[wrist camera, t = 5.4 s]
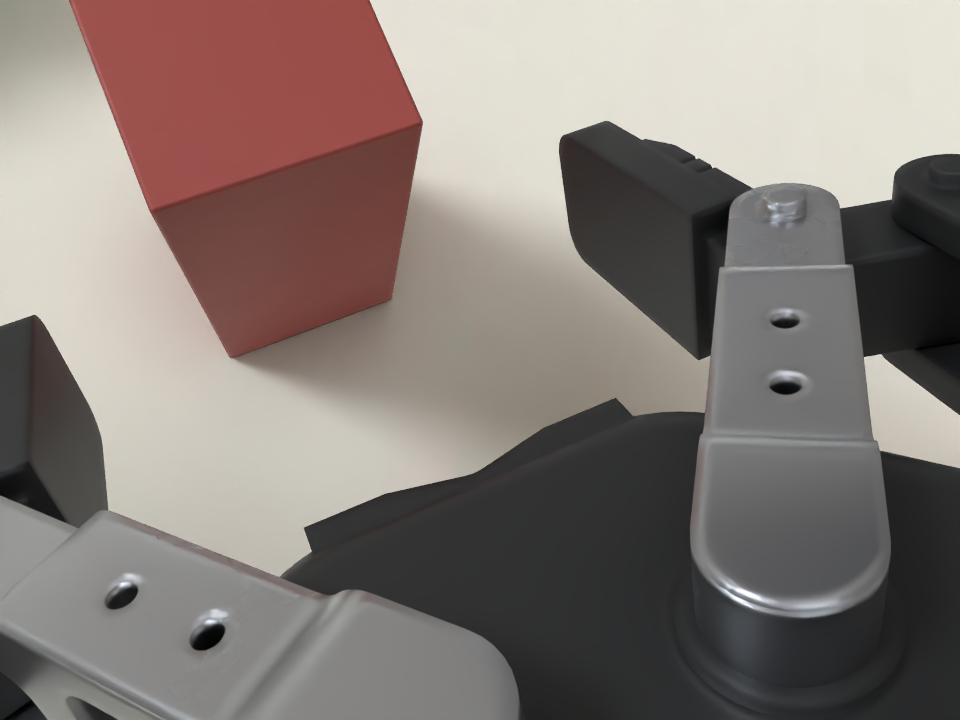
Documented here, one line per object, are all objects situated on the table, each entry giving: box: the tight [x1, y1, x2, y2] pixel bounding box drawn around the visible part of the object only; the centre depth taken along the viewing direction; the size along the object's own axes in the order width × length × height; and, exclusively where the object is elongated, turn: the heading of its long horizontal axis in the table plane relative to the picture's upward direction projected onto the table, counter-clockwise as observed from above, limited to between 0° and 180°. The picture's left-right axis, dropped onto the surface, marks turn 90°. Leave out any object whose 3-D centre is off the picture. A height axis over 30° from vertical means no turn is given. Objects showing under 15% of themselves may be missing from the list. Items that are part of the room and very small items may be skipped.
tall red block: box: [69, 0, 423, 358], centre depth 17 cm, size 4×4×9 cm
